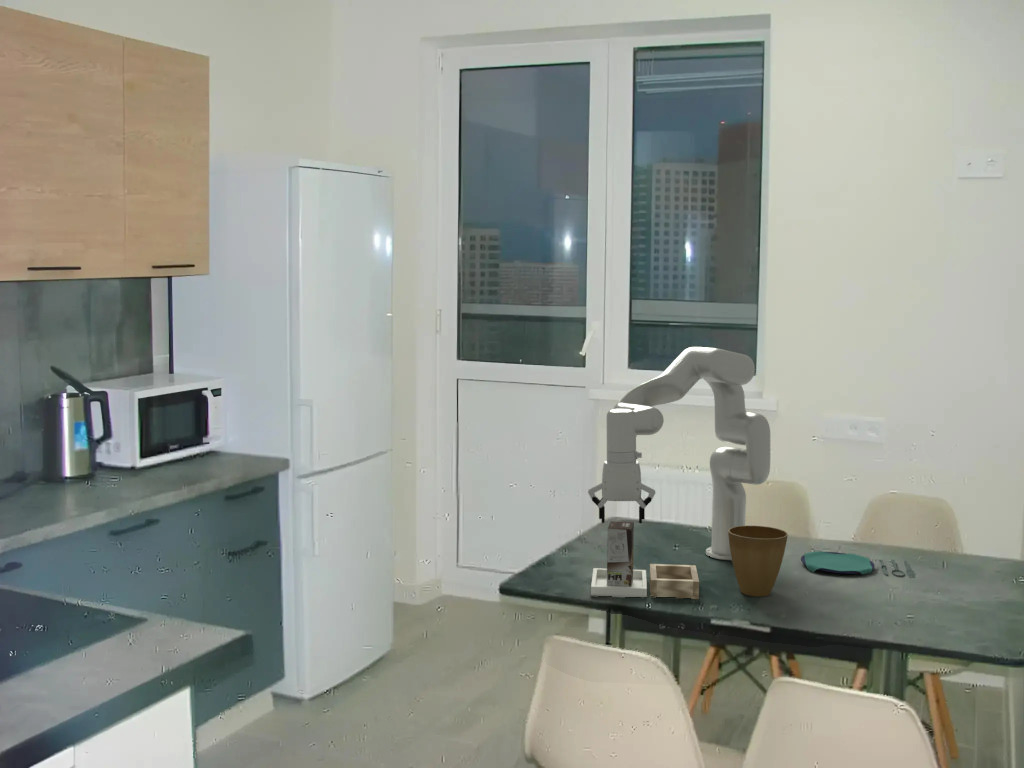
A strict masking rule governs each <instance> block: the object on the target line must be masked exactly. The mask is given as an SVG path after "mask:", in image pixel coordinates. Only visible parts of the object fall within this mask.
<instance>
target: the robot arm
mask: <svg viewBox="0 0 1024 768" xmlns="http://www.w3.org/2000/svg"><path fill="white" fill-rule="evenodd" d="M755 367H756V366H755V363H754V360H753V359H752V358H751V357H750V356H749V355H747V354H745V353H744V354H743V353H739V352H734V351H731V350H726V349H722V348H715V347H703V346H690V347H688V348H685V349H684V350H682V352H681V353H680V354H679V355H678V356H677V357H676V358H675V359H674V360H673V361H672V362H671V364H669V366H667V368H666V369H665V370H663V372H662V373H661V374H660V375H658V376H657V377H654V378H652V379H649V380H648V381H645V382H643V383H641V384H639V385H637V386H635V387H634V388H631V389H630V390H628V391H627V392H626V393H624V395H623V396H622V397H621V398H620V399H619V401H617V403H616V404H615V405H614V407H613V409H610V410H608V411H607V413H606V460H604V461H603V465H602V472H601V473H602V474H601V483H599V484H597V485H594V486H593V487H591V488H589V489H588V491H587V493H588V495H589V497H590V499H591V501H592V502H593V503H594V504H595V506H597V508H598V519H599V520H601V524H604V523H605V522H606V515H605V514H606V513H605V512H606V511H605V508H606V507H605V504H606V503H607V502H636V503H637V504H638V523H639V524H643V520H645V509H646V507H647V506H648V505H649V504H650V503H651V502H652V500H653V498H654V496H655V494H656V490H655V489H654V488H652V487H650V486H648V485H646V484H644V483H642V472H641V465H640V461H638V459H639V458H640V459H642V458H643V455H642V454H643V453H642V452H639V451H638V450H637V436H652V435H654V434H657V433H659V431H660V430H661V429H662V428H663V425H664V415H663V414H662V412H661V411H660V410H659V409H658V408H656V407H655V406H660V405H666V404H669V403H674V402H677V401H680V400H682V399H683V398H684V397H685V396H686V395H687V394H688V393H689V391H690V390H691V389H692V388H694V386H695V385H696V383H697V382H699V380H701V379H702V380H704V381H705V382H706V383H707V384H708V385H709V387H710V389H711V390H712V392H713V396H714V397H713V398H714V399H713V400H714V432H715V437H716V438H717V440H719V441H721V442H724V443H728V444H732V445H733V444H734V445H739V446H744V447H745V448H741V447H733V446H721V447H718V448H716V449H715V450H714V451H712V453H711V455H710V457H709V470H710V476H711V483H712V503H711V504H712V505H711V509H712V510H711V539H710V540H711V541H710V542H711V544H710V545H711V546H709V547H706V549H705V554H706V556H708V557H709V556H710V558H712V559H717V560H720V561H721V560H722V561H732V557H731V552H730V545H729V536H728V530H729V529H730V528H732V527H736V526H746V513H747V511H746V509H747V508H746V507H747V506H746V505H747V494H746V491H745V488H744V486H743V485H744V484H748V485H762V484H764V483H765V482H766V481H767V479H768V478H769V476H770V472H771V428H770V423H769V421H768V419H767V418H766V416H764V415H763V414H761V413H758V412H750V411H747V410H746V403H745V402H746V399H745V398H746V397H745V391H744V388H743V386H744V385H747V384H748V383H750V382H751V381H752V379H753V378H754V375H755V372H756V371H755V369H756V368H755ZM599 491H601V496H602V497H601V499H600V498H598V497H597V495H596V494H595V493H597V492H599ZM642 491H644V492H646V493H648V495H647V497H646V498H644V499H643V498H642Z"/></svg>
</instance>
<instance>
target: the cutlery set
mask: <svg viewBox="0 0 1024 768" xmlns="http://www.w3.org/2000/svg"><path fill="white" fill-rule="evenodd" d="M800 561H801V562H802V564H804V565H805V566H806V568H807V570H808V571H810V572H811V573H814V572H816V571H817V570H819V571H822V572H823V571H824V572H827V573H828V572H829V573H833V574H835V573H836V574H849V575H850V574H851V575H852V574H861V575H867V574H870V573H871V572H872V571H873V570H874V569H875V564H874V562H873V561H871V559H870V558H868V557H867V556H866V557H865V556H862V555H860V554H855V553H844V552H838V551H837V552H836V551H822V550H817V551H809V552H805V553H804V554H803V555H801V557H800ZM879 563H881V569H882V572H883V575H884V576H886V577H888V576H889V574H888V571H887V565H886V564H885V563H884V562H883V559H879ZM891 564H892V566H893V567H894V569H892V570H891V574H893V576H896V577H902V576H903V577H904V575H905V573H906V574H907V576H908V578H911V579H912V578H914V579H916V575H915V571H914V570H912V568H910V566H909V562H908V561H907V560H904V566H905V567H906V570H905V572H904V571H903V570H901V569H898V568H897V564H896V560H895V559H891ZM895 573H900V574H902V575H897V574H895Z"/></svg>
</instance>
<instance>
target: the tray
mask: <svg viewBox="0 0 1024 768" xmlns="http://www.w3.org/2000/svg"><path fill="white" fill-rule="evenodd" d="M591 576H592V578H591V584H590V596H591V597H598V596H612V597H611V598H625V597H648V593H647V592H648V586H647V585H648V583H647V569H633V582H632V586H631V587H620V586H607V568H600V567H599V568H598V567H597V568H596V567H595V568H594V567H593V569H592V575H591Z"/></svg>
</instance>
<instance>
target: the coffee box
mask: <svg viewBox="0 0 1024 768" xmlns="http://www.w3.org/2000/svg"><path fill="white" fill-rule="evenodd" d="M634 529H635V522H634V521H624V520H623V521H621V520H620V521H611V520H610V522H609V524H608V527H607V551H606V552H607V555H606V569H607V586H620V587H631V586H632V582H633V570H634V537H635V536H634V535H635V533H634V531H635V530H634Z"/></svg>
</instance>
